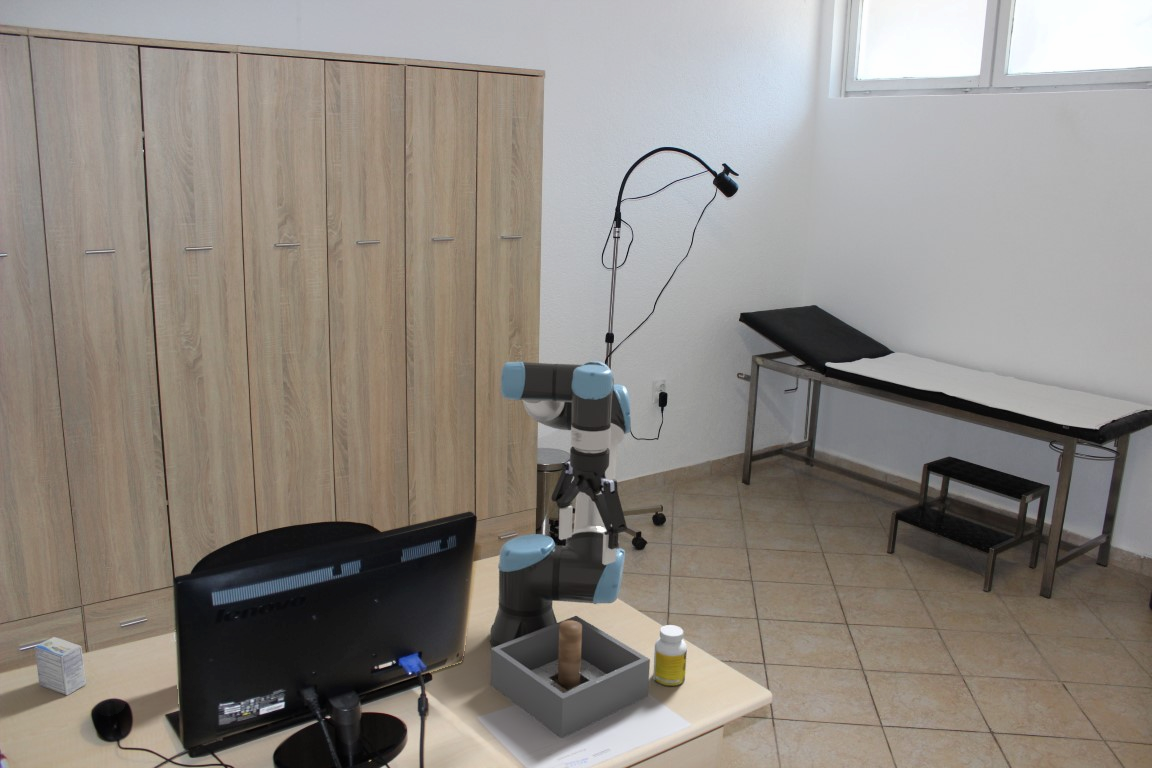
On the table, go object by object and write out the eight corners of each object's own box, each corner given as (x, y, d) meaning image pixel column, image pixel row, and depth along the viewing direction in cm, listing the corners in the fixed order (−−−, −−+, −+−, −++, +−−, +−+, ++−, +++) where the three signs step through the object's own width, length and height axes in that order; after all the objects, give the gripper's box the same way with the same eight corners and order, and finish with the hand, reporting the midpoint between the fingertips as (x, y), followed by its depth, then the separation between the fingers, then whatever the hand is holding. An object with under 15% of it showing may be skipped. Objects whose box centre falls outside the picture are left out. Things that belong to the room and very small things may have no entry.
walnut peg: (552, 689, 184) (554, 624, 181) (569, 681, 187) (572, 618, 184) (567, 699, 181) (569, 633, 177) (584, 691, 184) (586, 626, 180)
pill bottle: (683, 693, 186) (686, 640, 183) (650, 688, 187) (653, 636, 184) (686, 676, 192) (689, 624, 189) (654, 671, 193) (657, 620, 191)
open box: (490, 689, 185) (491, 648, 183) (574, 653, 199) (576, 615, 197) (561, 742, 169) (562, 698, 167) (647, 700, 183) (649, 659, 181)
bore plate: (519, 686, 185) (519, 675, 184) (572, 663, 193) (573, 652, 193) (564, 719, 174) (564, 707, 174) (619, 693, 183) (619, 682, 183)
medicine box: (87, 685, 182) (82, 645, 180) (66, 696, 178) (61, 656, 176) (59, 675, 185) (54, 635, 183) (38, 686, 182) (33, 645, 179)
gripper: (535, 433, 184) (533, 532, 190) (618, 470, 166) (613, 579, 171) (565, 426, 189) (562, 524, 194) (649, 462, 170) (643, 568, 176)
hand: (586, 550), depth 183 cm, fingers open, 13 cm apart
